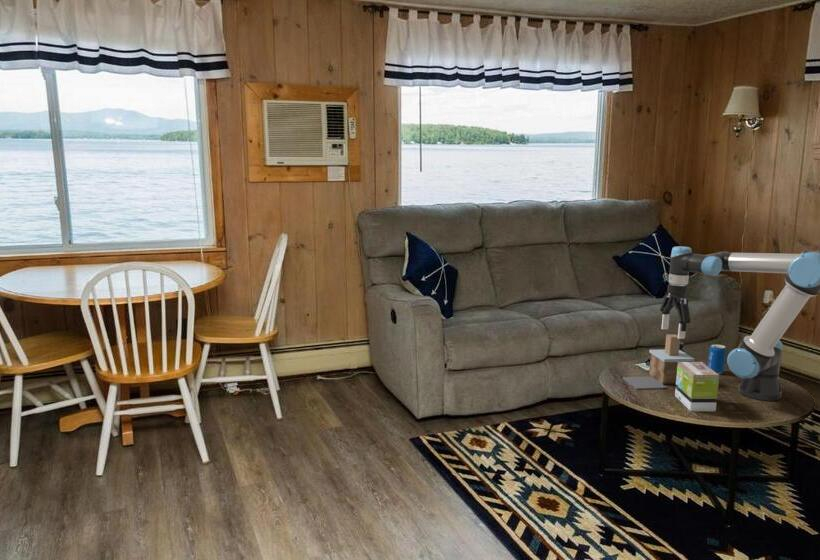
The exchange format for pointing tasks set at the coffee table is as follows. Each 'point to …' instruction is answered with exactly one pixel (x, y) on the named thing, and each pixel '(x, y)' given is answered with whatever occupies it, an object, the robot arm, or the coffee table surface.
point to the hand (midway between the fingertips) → (672, 333)
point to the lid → (671, 351)
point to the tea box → (697, 386)
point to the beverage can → (717, 358)
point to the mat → (644, 382)
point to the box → (663, 370)
